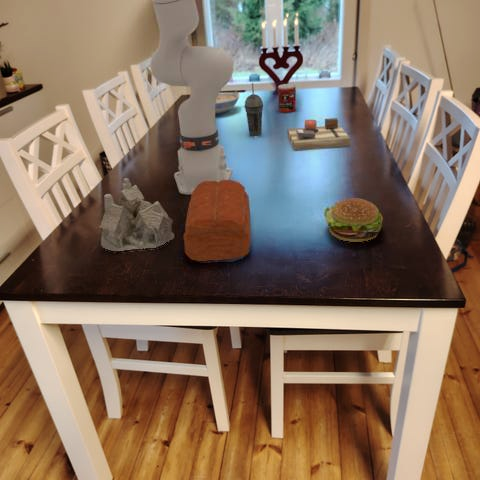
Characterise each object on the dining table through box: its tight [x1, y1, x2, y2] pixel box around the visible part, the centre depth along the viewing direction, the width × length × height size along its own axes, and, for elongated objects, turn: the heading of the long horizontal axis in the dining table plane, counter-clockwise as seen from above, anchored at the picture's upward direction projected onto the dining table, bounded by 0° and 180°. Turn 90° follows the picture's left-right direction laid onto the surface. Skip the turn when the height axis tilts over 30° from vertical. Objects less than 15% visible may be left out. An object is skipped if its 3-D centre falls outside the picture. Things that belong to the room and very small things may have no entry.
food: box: [323, 197, 383, 243], centre depth 112 cm, size 14×14×8 cm
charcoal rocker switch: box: [296, 130, 315, 137], centre depth 166 cm, size 4×6×1 cm, turn 93°
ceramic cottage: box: [99, 177, 175, 251], centre depth 114 cm, size 16×16×15 cm
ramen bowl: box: [215, 89, 246, 115], centre depth 214 cm, size 25×23×8 cm
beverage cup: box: [244, 82, 264, 138], centre depth 178 cm, size 7×7×20 cm
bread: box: [183, 179, 252, 261], centre depth 114 cm, size 16×27×11 cm, turn 0°
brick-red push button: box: [304, 119, 318, 129], centre depth 172 cm, size 4×4×2 cm
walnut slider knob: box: [324, 117, 339, 128], centre depth 173 cm, size 2×4×3 cm, turn 93°
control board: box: [286, 124, 351, 152], centre depth 171 cm, size 16×20×4 cm
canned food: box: [277, 83, 297, 114], centre depth 207 cm, size 8×8×11 cm
